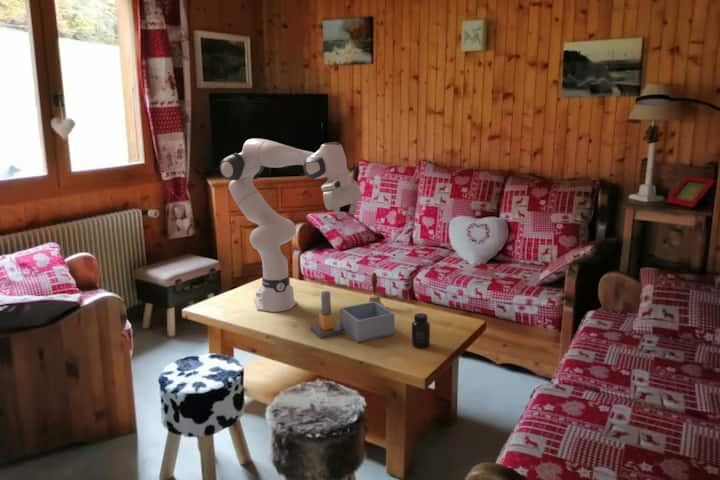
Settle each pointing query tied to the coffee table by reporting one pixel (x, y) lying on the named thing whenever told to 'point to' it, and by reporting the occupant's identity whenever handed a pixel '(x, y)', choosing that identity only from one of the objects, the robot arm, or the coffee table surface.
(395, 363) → the coffee table surface
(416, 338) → the supplement bottle
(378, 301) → the hand bell
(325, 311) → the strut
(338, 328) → the ball stud base
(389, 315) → the bin
